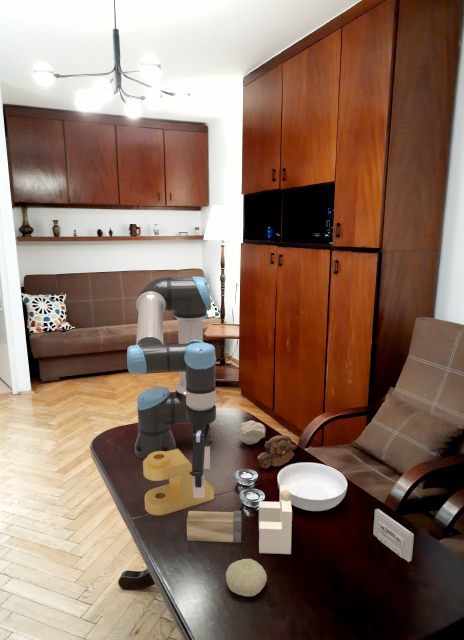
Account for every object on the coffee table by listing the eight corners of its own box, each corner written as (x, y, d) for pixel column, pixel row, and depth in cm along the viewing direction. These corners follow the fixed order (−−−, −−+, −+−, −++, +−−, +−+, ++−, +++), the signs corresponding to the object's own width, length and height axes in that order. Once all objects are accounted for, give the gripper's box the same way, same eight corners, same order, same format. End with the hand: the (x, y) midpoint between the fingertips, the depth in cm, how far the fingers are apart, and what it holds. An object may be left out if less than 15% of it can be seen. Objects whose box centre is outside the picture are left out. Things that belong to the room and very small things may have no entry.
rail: (189, 530, 122) (188, 509, 121) (241, 531, 122) (241, 511, 120) (187, 540, 118) (186, 519, 117) (240, 542, 118) (240, 521, 116)
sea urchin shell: (220, 562, 107) (245, 541, 106) (242, 582, 108) (267, 561, 108) (223, 593, 98) (250, 570, 97) (247, 614, 99) (274, 592, 99)
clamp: (150, 519, 127) (148, 468, 124) (140, 502, 135) (138, 453, 132) (213, 499, 136) (213, 451, 133) (201, 484, 144) (200, 438, 141)
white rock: (259, 436, 177) (259, 413, 175) (271, 445, 170) (272, 420, 168) (233, 444, 171) (233, 419, 169) (245, 453, 164) (245, 428, 162)
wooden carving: (265, 475, 149) (265, 447, 147) (256, 469, 153) (256, 442, 151) (299, 459, 159) (300, 433, 157) (289, 454, 163) (290, 429, 161)
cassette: (413, 560, 111) (415, 533, 110) (407, 563, 110) (410, 536, 109) (376, 532, 122) (378, 507, 120) (371, 534, 121) (373, 509, 119)
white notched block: (258, 523, 125) (259, 478, 122) (287, 524, 125) (289, 478, 122) (259, 552, 114) (259, 503, 111) (291, 554, 113) (292, 504, 111)
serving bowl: (349, 487, 143) (350, 467, 141) (342, 528, 123) (343, 506, 122) (284, 475, 149) (285, 456, 148) (269, 512, 130) (269, 491, 128)
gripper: (192, 387, 125) (194, 457, 129) (177, 425, 100) (180, 510, 105) (219, 388, 125) (220, 458, 129) (211, 426, 100) (212, 511, 104)
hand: (202, 481), depth 117 cm, fingers open, 13 cm apart
